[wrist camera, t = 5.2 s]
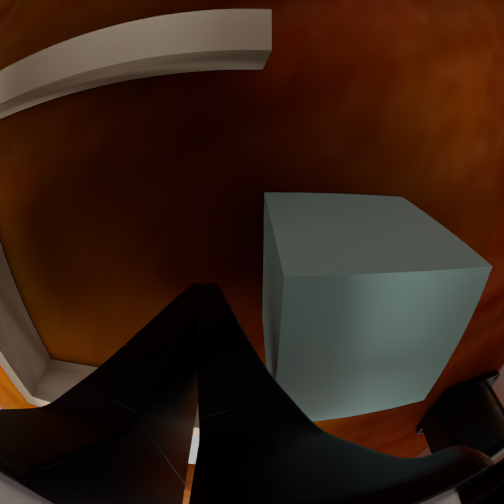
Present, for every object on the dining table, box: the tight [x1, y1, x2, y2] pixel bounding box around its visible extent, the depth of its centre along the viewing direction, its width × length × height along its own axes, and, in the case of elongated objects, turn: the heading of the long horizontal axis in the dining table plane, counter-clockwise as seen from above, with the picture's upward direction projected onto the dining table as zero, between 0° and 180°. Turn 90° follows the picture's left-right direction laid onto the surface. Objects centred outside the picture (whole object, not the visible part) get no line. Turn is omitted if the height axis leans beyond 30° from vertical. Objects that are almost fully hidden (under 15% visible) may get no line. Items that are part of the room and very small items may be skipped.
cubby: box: [0, 9, 272, 437], centre depth 9 cm, size 13×15×3 cm
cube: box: [262, 192, 492, 421], centre depth 8 cm, size 5×5×5 cm
